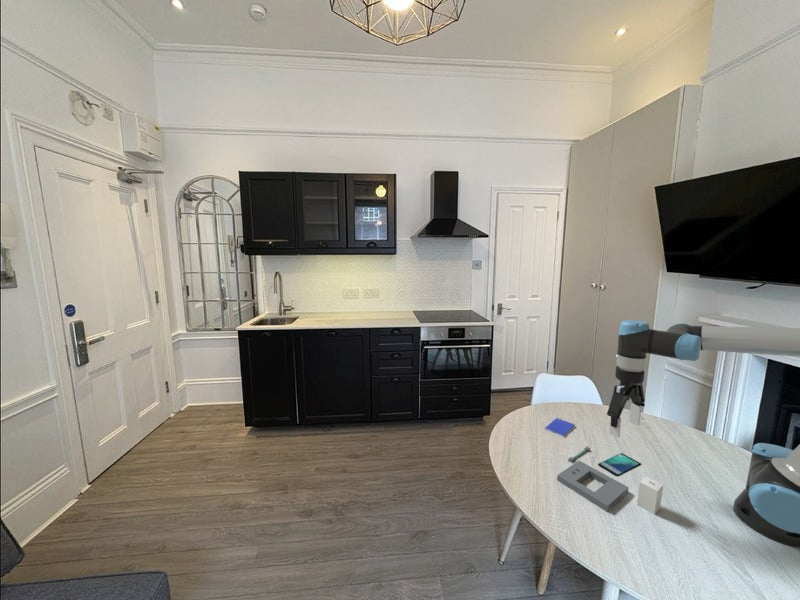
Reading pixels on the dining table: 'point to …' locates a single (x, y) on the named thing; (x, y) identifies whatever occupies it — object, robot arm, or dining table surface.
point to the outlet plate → (601, 497)
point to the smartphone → (619, 464)
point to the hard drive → (560, 427)
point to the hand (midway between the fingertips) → (624, 429)
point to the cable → (578, 454)
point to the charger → (649, 495)
